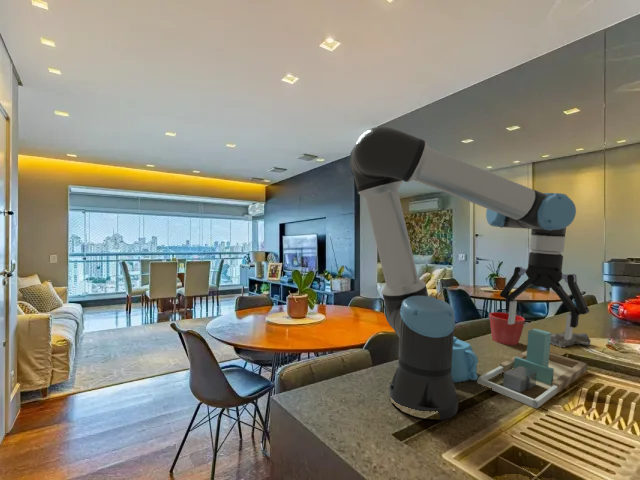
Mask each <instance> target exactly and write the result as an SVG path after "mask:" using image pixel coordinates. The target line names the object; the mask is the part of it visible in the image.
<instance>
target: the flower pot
mask: <svg viewBox="0 0 640 480" xmlns="http://www.w3.org/2000/svg"><path fill="white" fill-rule="evenodd" d="M488 314H489V323H490V332H491V340H492V341H493V342H496V343H498V344H499V343H500V344H502V345H507V346H508V345H509V346H515V345H516V346H517V345H519V342H520V338H521V336H522V333H523V329H524V326H525V322H526V319H525V318H524V317H523V316H520V315H517V314H516V316H515V324H511V325H510V324H508V317H509V312H500V311H499V312H493V311H492V312H490V313H488Z"/></svg>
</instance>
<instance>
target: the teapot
mask: <svg viewBox="0 0 640 480" xmlns="http://www.w3.org/2000/svg"><path fill="white" fill-rule="evenodd" d="M478 362H479V360H478V356H477V354H476V353H475V352H474V350H473V348H472V346H471V344H470V343H468V342H466V341H464V340H461V339H459V338H458V337H456V336H454V340H453V354H452V368H451V374H452V378H453V382H454V383H461V382H462V381H463V382H466V381H469V379H470V380H471V381H477V378H478V377H479V376H478V373H477V371H478V369H477V368H478V367H477V366H478Z"/></svg>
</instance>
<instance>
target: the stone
mask: <svg viewBox="0 0 640 480" xmlns="http://www.w3.org/2000/svg"><path fill="white" fill-rule="evenodd" d="M564 338H565V331H563V332H559V333H557V332H555V333H551V340H550V345H551V344H552V345H553V346H554V345H557V346H560V347H564V346H566V347H570V346H569V345H571V346H574V345H578V344H582V345H581V346H590V344H591V342H592V341H591V339H590V338H589V335H588V333H585V332H580V333H576V332H575V333H574V332H572V339H570V340H565V339H564ZM557 346H556V347H557ZM564 348H565V347H564Z"/></svg>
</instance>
